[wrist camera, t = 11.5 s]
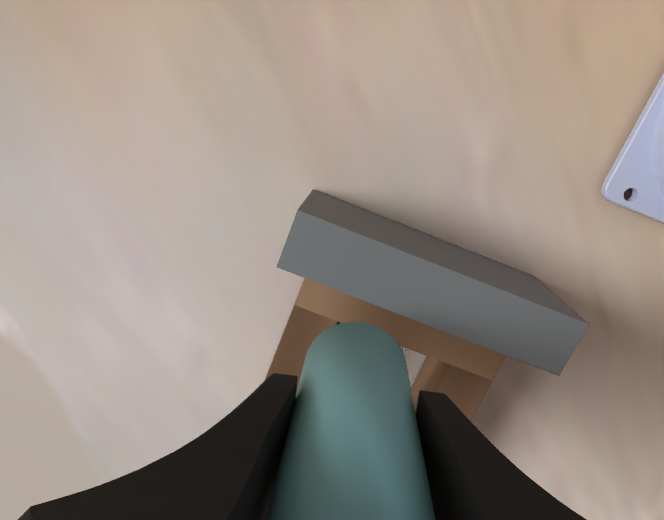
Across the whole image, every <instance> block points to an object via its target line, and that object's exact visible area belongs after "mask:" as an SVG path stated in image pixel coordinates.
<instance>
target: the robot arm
mask: <svg viewBox="0 0 664 520" xmlns="http://www.w3.org/2000/svg"><path fill="white" fill-rule="evenodd" d="M629 188H631V189H632V196H631V197H630V198H629V199H627V200H625V199H624V196H623V195H624V192H625V191H626V190H627V189H629ZM601 193H602V196H603V197H604V198H605V199H606V200H608V201H610V202H612V203H615V204H617V205H620V206H622V207H625V208H627V209H630V210H632V211H635V212H637V213H640V214H642V215H645V216H647V217H650V218H652V219H654V220H657V221H659V222H662V223H664V73H663V75H662V76H661V78H660V80H659V82H658V84H657V86H656V87H655V89H654V91H653V93H652V95H651V97H650V98H649V100H648V102H647V104H646V106H645V108H644V109H643V111H642V113H641V115H640V117H639V119H638V120H637V122H636V124H635V126H634V128H633V130H632V131H631V133H630V135H629V137H628V139H627V141H626V142H625V144H624V146H623V148H622V150H621V152H620V153H619V155H618V157H617V159H616V161H615V163H614V164H613V166H612V168H611V170H610V172H609V174H608V175H607V177H606V179H605V181H604V183H603V185H602V188H601ZM297 379H298V376H295V375H286V374H278V373H273V374H272V375H270V376H269V377H268V378H267V379H266V380H265V381H264V382H263V383H262V384H261V385H260V386H259V387H258V388H257V389H256V390H255V391H254V392H253V393H252V394H251V395H250V396H249V397H248V398H247V399H245V400H244V401H243V402H242V403H241V404H240V405H239V406H238V407H236V408H235V409H234V410H233V411H232V412H231V413H229V414H228V415H227V416H226V417H224V418H223V419H222V420H221V421H219V422H218V423H217V424H215V425H214V426H213V427H212V428H210V429H209V430H208V431H206V432H205V433H203V434H202V435H201V436H199V437H198V438H196V439H195V440H193V441H191V442H190V443H188V444H186V445H185V446H183V447H182V448H180V449H178V450H176V451H175V452H173V453H171V454H169V455H167V456H165V457H163V458H161V459H159V460H157V461H155V462H153V463H151V464H149V465H147V466H145V467H143V468H141V469H139V470H136V471H134V472H132V473H129V474H127V475H125V476H122V477H120V478H118V479H115V480H112V481H110V482H107V483H104V484H102V485H99V486H96V487H94V488H91V489H88V490H85V491H82V492H78V493H75V494H72V495H69V496H65V497H62V498H59V499H55V500H52V501H48V502H45V503H42V504H38V505H34V506H31V507H30V508H29V509H28V510H27V511H26V512H25V513H24V514H23V515H22V516H21V517H20V518H19V519H18V520H266V519H267V515H268V511H269V507H270V503H271V498H272V494H273V490H274V486H275V482H276V478H277V473H278V469H279V465H280V461H281V457H282V453H283V448H284V444H285V440H286V436H287V432H288V428H289V424H290V420H291V416H292V412H293V408H294V404H295V399H296V390H297ZM416 418H417V424H418V429H419V434H420V440H421V445H422V450H423V455H424V461H425V466H426V471H427V476H428V482H429V487H430V492H431V497H432V503H433V508H434V513H435V519H436V520H586V519H585V518H583V517H582V516H580V515H579V514H577V513H576V512H574V511H573V510H571V509H570V508H568V507H567V506H565V505H564V504H563V503H561V502H560V501H558V500H557V499H556V498H554V497H553V496H552V495H550V494H549V493H548V492H547V491H545V490H544V489H543V488H542V487H540V486H539V485H538V484H536V483H535V482H534V481H533V480H531V479H530V478H529V477H528V476H527V475H525V474H524V473H523V472H522V471H521V470H519V469H518V468H517V467H516V466H515V465H514V464H513V463H512V462H511V461H510V460H508V459H507V458H506V457H505V456H504V455H503V454H502V453H501V452H500V451H499V450H498V449H497V448H496V447H495V446H494V445H493V444H492V443H491V442H490V441H489V440H488V439H487V438H486V437H485V436H484V435H483V434H482V433H481V432H480V431H479V430H478V429H477V428H476V427H475V426H474V425H473V424H472V423H471V421H470V420H469V419H468V418H467V417H466V416H465V415H464V414H463V413H462V412H461V411H460V409H459V408H458V407H457V406H456V405H455V404H454V403H453V402H452V401H451V399H450V398H449V397H448V396H447V395H446V394H445V393H438V392H430V391H422V390H419V396H418V402H417V408H416Z"/></svg>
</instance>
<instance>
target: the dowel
mask: <svg viewBox="0 0 664 520" xmlns="http://www.w3.org/2000/svg"><path fill="white" fill-rule="evenodd" d="M266 520H436V519H435V513H434V508H433V503H432V497H431V492H430V487H429V482H428V476H427V471H426V466H425V461H424V455H423V450H422V445H421V440H420V434H419V429H418V424H417V418H416V413H415V408H414V403H413V397H412V392H411V387H410V382H409V376H408V371H407V366H406V361H405V357H404V354H403V351H402V349H401V347H400V346H399V344H398V343H397V342H396V340H395V339H394V338H393V337H392V336H391V335H390V334H389V333H387V332H386V331H384V330H383V329H381V328H379V327H377V326H374V325H372V324H368V323H363V322H345V323H341V324H337V325H334V326H332V327H330V328H328V329H326V330H325V331H323V332H322V333H321V334H319V335H318V336H317V337H316V338H315V340H314V341H313V342H312V344H311V345H310V347H309V349H308V351H307V353H306V357H305V361H304V365H303V369H302V373H301V378H300V382H299V386H298V390H297V394H296V399H295V404H294V408H293V412H292V416H291V420H290V424H289V428H288V432H287V436H286V440H285V444H284V448H283V453H282V457H281V461H280V465H279V469H278V473H277V478H276V482H275V486H274V490H273V494H272V498H271V503H270V507H269V511H268V515H267V519H266Z"/></svg>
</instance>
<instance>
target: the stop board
mask: <svg viewBox="0 0 664 520" xmlns="http://www.w3.org/2000/svg"><path fill="white" fill-rule="evenodd" d="M277 267H278V268H280V269H283V270H286V271H288V272H291V273H293V274H296V275H298V276H301V277H304V278H306V279H309V280H311V281H314V282H317V283H319V284H322V285H324V286H327V287H330V288H332V289H335V290H337V291H340V292H343V293H345V294H348V295H350V296H353V297H356V298H358V299H361V300H363V301H366V302H369V303H371V304H374V305H376V306H379V307H382V308H384V309H387V310H389V311H392V312H394V313H397V314H400V315H402V316H405V317H407V318H410V319H413V320H415V321H418V322H420V323H423V324H426V325H428V326H431V327H433V328H436V329H439V330H441V331H444V332H446V333H449V334H452V335H454V336H457V337H459V338H462V339H465V340H467V341H470V342H472V343H475V344H478V345H480V346H483V347H485V348H488V349H490V350H493V351H496V352H498V353H501V354H503V355H506V356H509V357H511V358H514V359H516V360H519V361H522V362H524V363H527V364H529V365H532V366H535V367H537V368H540V369H542V370H545V371H548V372H550V373H553V374H555V375H558V376H559V375H560V373H561V371H562V370H563V368H564V366H565V365H566V363H567V361H568V359H569V358H570V356H571V354H572V353H573V351H574V349H575V348H576V346H577V344H578V342H579V341H580V339H581V337H582V336H583V334H584V332H585V331H586V329H587V327H588V325H589V324H588V323H587V322H586V321H585V320H584V319H583V318H582V317H580V316H579V315H578V314H577V313H576V312H575V311H574V310H572V309H571V308H570V307H569V306H568V305H567V304H566V303H565V302H563V301H562V300H561V299H560V298H559V297H558V296H557V295H555V294H554V293H553V292H552V291H551V290H550V289H549V288H547V287H546V286H545V285H544V284H543V283H542V282H541V281H539V280H538V279H537V278H536V277H534V276H532V275H529V274H527V273H524V272H522V271H519V270H516V269H514V268H511V267H509V266H506V265H504V264H501V263H499V262H496V261H494V260H491V259H489V258H486V257H483V256H481V255H478V254H476V253H473V252H471V251H468V250H466V249H463V248H461V247H458V246H456V245H453V244H451V243H448V242H445V241H443V240H440V239H438V238H435V237H433V236H430V235H428V234H425V233H423V232H420V231H418V230H415V229H412V228H410V227H407V226H405V225H402V224H400V223H397V222H395V221H392V220H390V219H387V218H385V217H382V216H380V215H377V214H374V213H372V212H369V211H367V210H364V209H362V208H359V207H357V206H354V205H352V204H349V203H347V202H344V201H341V200H339V199H336V198H334V197H331V196H329V195H326V194H324V193H321V192H319V191H316V190H314V189H313V190H312V192H311V193H310V194H309V196H308V197H307V198H306V200H305V201H304V202H303V204H302V205H301V206H300V208H299V209H298V211H297V213H296V216H295V219H294V221H293V224H292V227H291V230H290V232H289V235H288V238H287V240H286V243H285V246H284V248H283V251H282V254H281V257H280V259H279V262H278V265H277Z"/></svg>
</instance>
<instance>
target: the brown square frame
mask: <svg viewBox="0 0 664 520" xmlns="http://www.w3.org/2000/svg"><path fill="white" fill-rule="evenodd" d="M337 321H338V322H340V323H345V322H363V323H368V324H372V325H374V326H377V327H379V328H381V329H383V330H384V331H386V332H387V333H389V334H390V335H391V336H392V337H393V338H394V339H395V340H396V342H397V343H398V344H399V345H401V346H403V347H406V348H408V349H411V350H414V351H416V352H419V353H421V354H424V355H427V357H426V359H425V361H424V363H423V365H422V367H421V369H420V371H419V373H418V375H417V377H416V379H415V381H414V383H413V386H412V388H411V392H412V397H413V403H414V408H415V413H416V408H417V402H418V396H419V390H422V391H430V392H438V393H445V394H446V395H447V396H448V397H449V398H450V399H451V401H452V402H453V403H454V404H455V405H456V406H457V407H458V408H459V409H460V411H461V412H462V413H463V414H464V415H465V416H466V417H467V418H468V419H469V420H470V421H471V419H472V417H473V415H474V413H475V411H476V410H477V408H478V406H479V404H480V402H481V400H482V399H483V397H484V395H485V393H486V391H487V389H488V388H489V386H490V384H491V382H492V380H493V378H494V377H495V375H496V373H497V371H498V369H499V367H500V366H501V364H502V362H503V360H504V358H505V356H506V355H503V354H501V353H498V352H496V351H493V350H490V349H488V348H485V347H483V346H480V345H478V344H475V343H472V342H470V341H467V340H465V339H462V338H459V337H457V336H454V335H452V334H449V333H446V332H444V331H441V330H439V329H436V328H433V327H431V326H428V325H426V324H423V323H420V322H418V321H415V320H413V319H410V318H407V317H405V316H402V315H400V314H397V313H394V312H392V311H389V310H387V309H384V308H382V307H379V306H376V305H374V304H371V303H369V302H366V301H363V300H361V299H358V298H356V297H353V296H350V295H348V294H345V293H343V292H340V291H337V290H335V289H332V288H330V287H327V286H324V285H322V284H319V283H317V282H314V281H311V280H309V279H306V278H305V279H304V281H303V284H302V286H301V289H300V291H299V294H298V297H297V299H296V302H295V304H294V307H293V309H292V312H291V315H290V317H289V320H288V322H287V325H286V327H285V330H284V332H283V335H282V338H281V340H280V343H279V345H278V348H277V350H276V353H275V356H274V358H273V361H272V363H271V366H270V368H269V371H268V373H267V376H266V379H267V378H268V377H269V376H270V375H272V374H273V373H278V374H286V375H295V376H298V379H297V390H298V386H299V382H300V378H301V373H302V369H303V365H304V361H305V357H306V353H307V351H308V349H309V347H310V345H311V344H312V342H313V341H314V340H315V338H316V337H317V336H318V335H319V334H321V333H322V332H323V331H325V330H326V329H328V328H330V327H332V326H334V325H336V323H337ZM266 379H265V380H266ZM297 390H296V394H297Z"/></svg>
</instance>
